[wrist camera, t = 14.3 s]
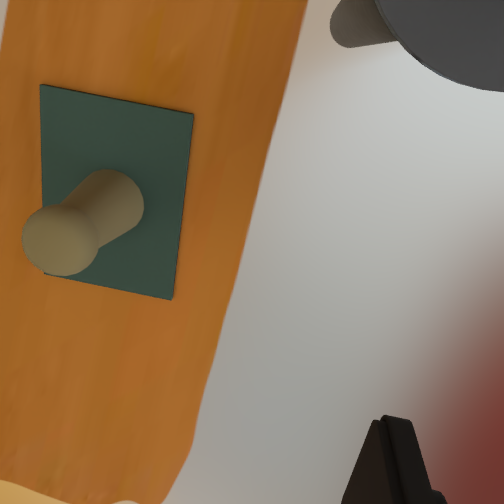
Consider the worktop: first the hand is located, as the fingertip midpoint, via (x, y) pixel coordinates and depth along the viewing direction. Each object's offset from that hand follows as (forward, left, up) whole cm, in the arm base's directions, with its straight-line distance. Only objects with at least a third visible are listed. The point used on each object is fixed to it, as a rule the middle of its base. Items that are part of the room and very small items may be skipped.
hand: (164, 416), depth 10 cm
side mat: (+13, +7, -30) cm, 34 cm away
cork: (+13, +7, -30) cm, 33 cm away
